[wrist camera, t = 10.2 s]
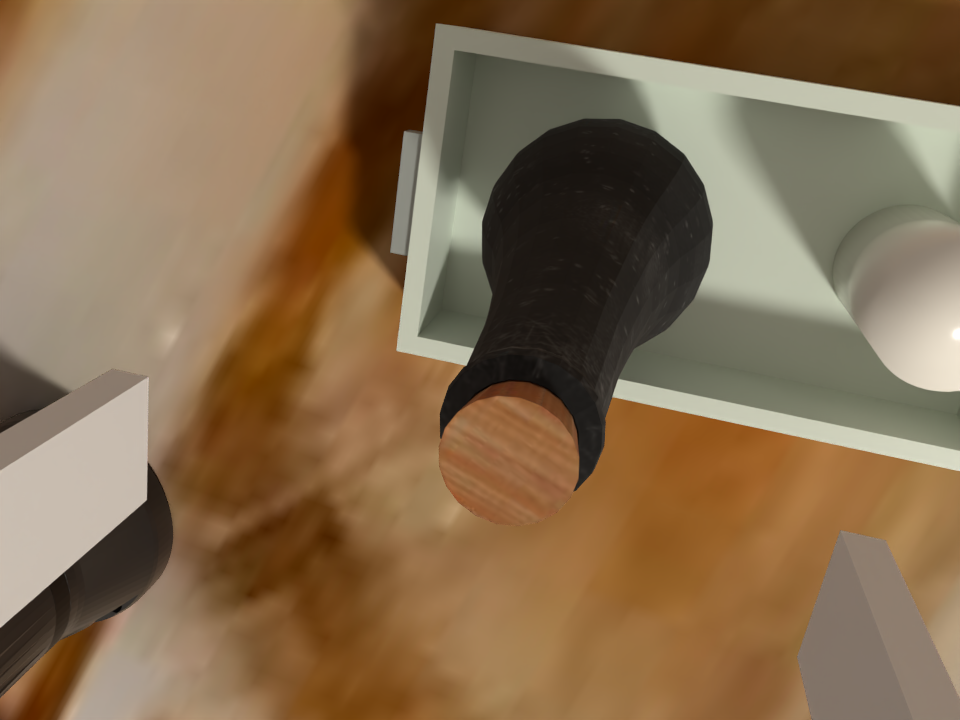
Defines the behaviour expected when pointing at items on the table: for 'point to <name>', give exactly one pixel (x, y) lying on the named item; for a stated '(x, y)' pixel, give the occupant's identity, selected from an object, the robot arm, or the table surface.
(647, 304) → the bottle
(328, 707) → the table surface
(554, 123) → the tote
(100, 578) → the robot arm
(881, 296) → the cream capsule cylinder
